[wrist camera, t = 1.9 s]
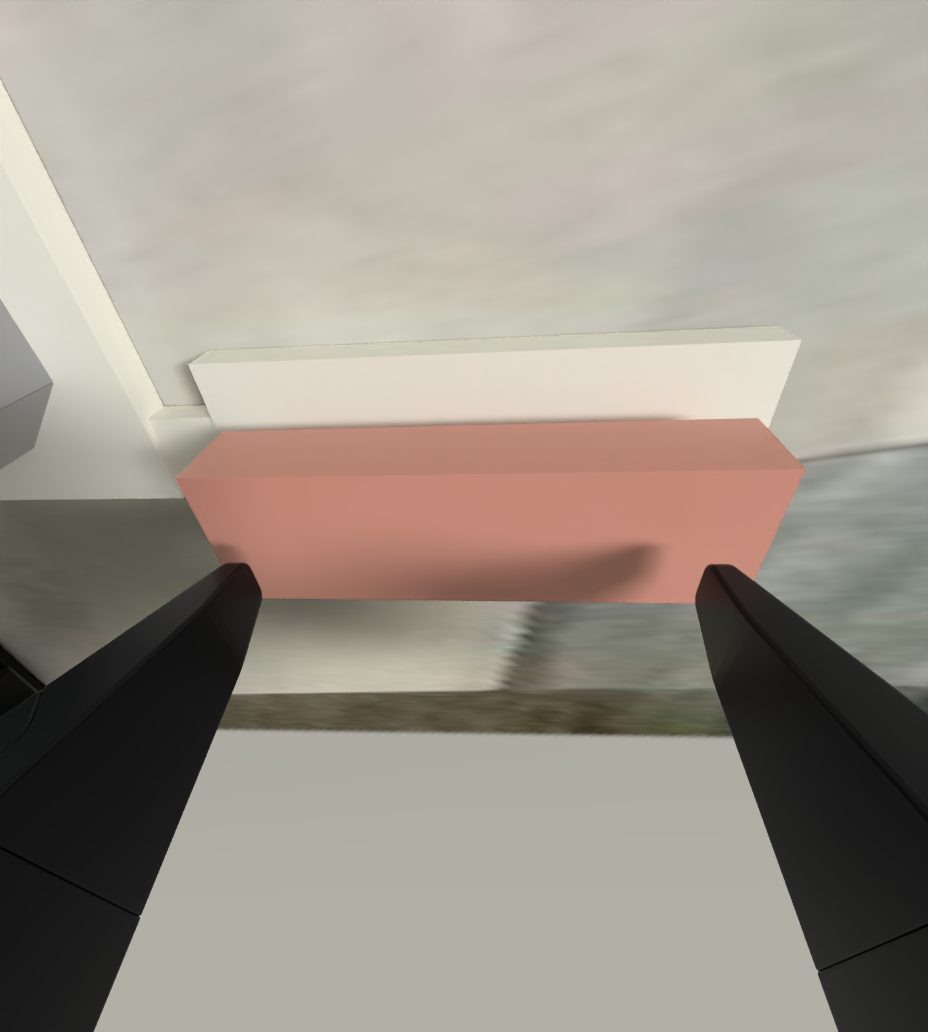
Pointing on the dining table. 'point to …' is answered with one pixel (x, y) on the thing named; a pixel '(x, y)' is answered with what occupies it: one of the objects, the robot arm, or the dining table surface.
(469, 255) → the dining table surface
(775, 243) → the dining table surface
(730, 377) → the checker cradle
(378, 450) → the bar
